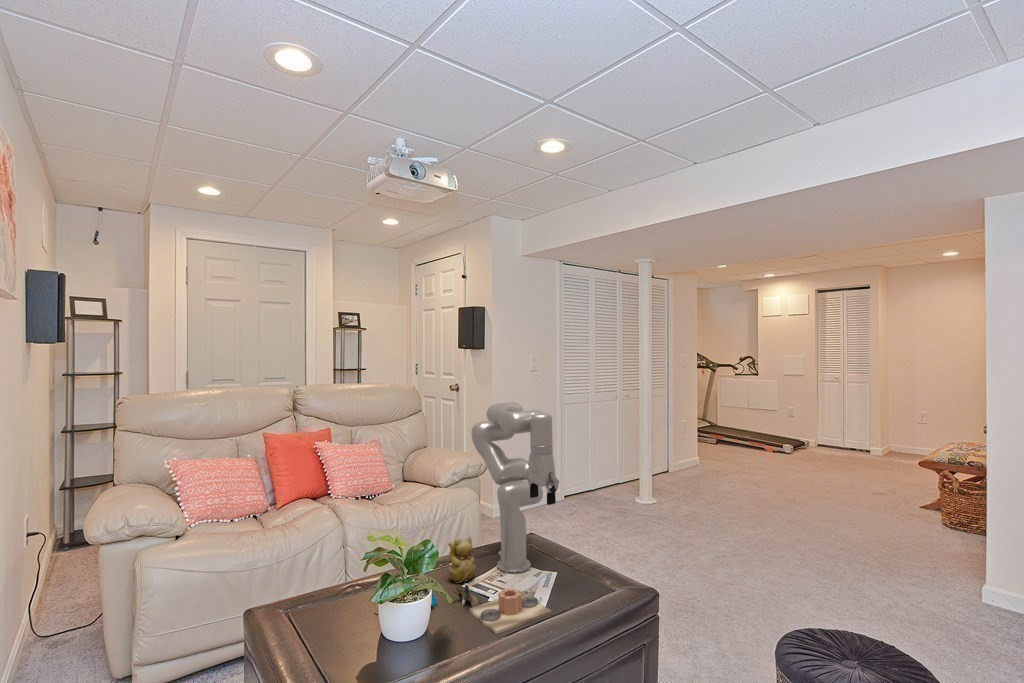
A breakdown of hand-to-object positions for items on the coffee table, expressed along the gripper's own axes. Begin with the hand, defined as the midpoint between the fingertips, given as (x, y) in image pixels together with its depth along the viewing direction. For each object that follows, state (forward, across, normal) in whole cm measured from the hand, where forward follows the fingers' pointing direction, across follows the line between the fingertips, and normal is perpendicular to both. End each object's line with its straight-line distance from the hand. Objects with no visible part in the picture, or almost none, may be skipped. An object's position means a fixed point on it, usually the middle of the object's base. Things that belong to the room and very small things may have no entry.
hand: (542, 500), depth 178 cm
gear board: (+30, +6, -18) cm, 36 cm away
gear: (+31, -14, -37) cm, 50 cm away
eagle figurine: (+31, -6, -26) cm, 41 cm away
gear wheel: (+29, +6, -18) cm, 35 cm away
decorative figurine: (+31, -23, -19) cm, 43 cm away
